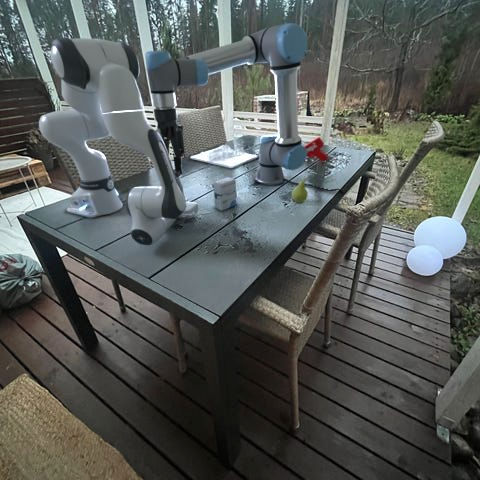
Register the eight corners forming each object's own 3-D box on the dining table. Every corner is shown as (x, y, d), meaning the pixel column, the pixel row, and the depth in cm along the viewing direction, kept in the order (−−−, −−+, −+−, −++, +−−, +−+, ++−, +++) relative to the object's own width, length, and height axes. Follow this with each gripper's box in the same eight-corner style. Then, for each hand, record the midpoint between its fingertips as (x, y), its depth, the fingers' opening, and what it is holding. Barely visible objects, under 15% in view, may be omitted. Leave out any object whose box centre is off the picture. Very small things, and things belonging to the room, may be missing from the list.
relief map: (232, 168, 162) (231, 159, 159) (190, 158, 179) (189, 150, 177) (257, 157, 180) (257, 149, 177) (217, 149, 198) (217, 142, 195)
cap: (171, 173, 105) (170, 169, 104) (182, 174, 104) (181, 169, 103) (166, 177, 101) (165, 172, 100) (178, 178, 100) (177, 173, 99)
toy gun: (332, 156, 168) (319, 135, 164) (331, 158, 165) (319, 137, 161) (306, 172, 178) (294, 152, 174) (305, 174, 175) (293, 154, 171)
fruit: (288, 200, 123) (290, 174, 116) (302, 197, 125) (305, 172, 119) (296, 206, 118) (299, 179, 111) (310, 203, 120) (314, 177, 114)
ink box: (228, 201, 122) (228, 176, 116) (236, 204, 119) (236, 179, 113) (214, 207, 117) (212, 181, 111) (222, 211, 114) (220, 184, 108)
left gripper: (189, 209, 94) (202, 194, 105) (136, 204, 97) (154, 190, 109) (191, 225, 97) (204, 208, 108) (139, 220, 101) (157, 204, 112)
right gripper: (173, 104, 98) (181, 167, 110) (136, 110, 85) (150, 181, 98) (190, 105, 95) (196, 170, 107) (154, 111, 82) (166, 185, 95)
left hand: (178, 199), depth 109 cm, fingers closed on bottle, 5 cm apart
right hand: (174, 175), depth 102 cm, fingers closed on cap, 4 cm apart
